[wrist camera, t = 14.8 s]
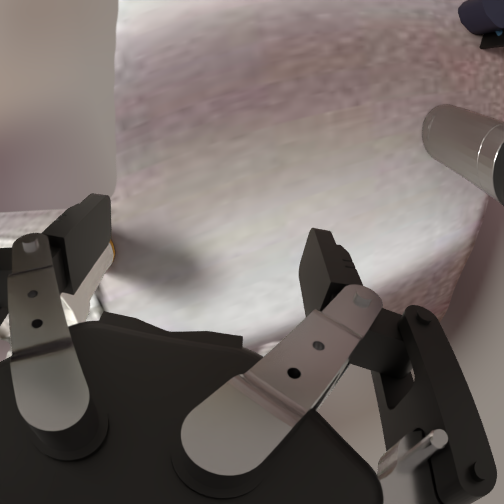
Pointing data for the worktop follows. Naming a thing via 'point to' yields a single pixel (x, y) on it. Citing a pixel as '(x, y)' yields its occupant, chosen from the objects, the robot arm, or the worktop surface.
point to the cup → (86, 289)
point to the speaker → (484, 20)
